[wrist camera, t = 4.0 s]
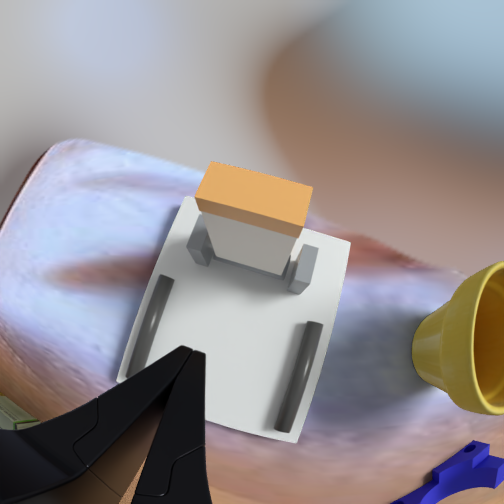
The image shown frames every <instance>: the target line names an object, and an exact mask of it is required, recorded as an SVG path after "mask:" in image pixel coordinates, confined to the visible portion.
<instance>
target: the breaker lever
mask: <svg viewBox="0 0 504 504" xmlns="http://www.w3.org/2000/svg"><path fill="white" fill-rule="evenodd" d="M312 190H313V187H310V186H306V185H303V184H300V183H296V182H292V181H289V180H285V179H282V178H278V177H274V176H271V175H267V174H262V173H259V172H255V171H251V170H247V169H242V168H239V167H235V166H230V165H226V164H221V163H217V162H212V161H211V163H210V165H209V167H208V169H207V171H206V173H205V175H204V177H203V179H202V181H201V184H200V186H199V188H198V190H197V192H196V194H195V200H196V203H197V206H198V209H199V211H201V213H202V216H203V219H204V222H205V225H206V228H207V231H208V234H209V237H210V240H211V243H212V246H213V249H214V253H213V259H214V260H216V261H220V262H223V263H226V264H229V265H233V266H236V267H239V268H243V269H246V270H249V271H253V272H256V273H259V274H263V275H266V276H270V277H273V278H276V279H280V280H283V281H284V279H285V276H286V273H287V270H288V266H289V263H290V259H291V255H290V254H291V252H292V249H293V247H294V245H295V242H296V240H297V238H298V239H299V236H300V234H301V232H302V229H303V227H304V223H305V219H306V215H307V211H308V207H309V202H310V198H311V194H312Z"/></svg>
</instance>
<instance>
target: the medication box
mask: <svg viewBox="0 0 504 504" xmlns="http://www.w3.org/2000/svg"><path fill="white" fill-rule="evenodd" d="M40 423H41V422H40V421H39V420H37V419H36V418H34V417H33V416H31V415H30V414H28V413H27V412H26V411H24V410H23V409H22V408H20V407H19V406H18V405H16V404H15V403H14V402H12V401H11V400H10V399H8V398H7V397H6V396H5V395H3V394H2V393H1V392H0V429H9V430H18V429H24V428H28V427H31V426H34V425H37V424H40Z"/></svg>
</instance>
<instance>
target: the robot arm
mask: <svg viewBox="0 0 504 504" xmlns="http://www.w3.org/2000/svg"><path fill="white" fill-rule="evenodd" d="M205 385H206V354H205V353H204V352H201V351H198V350H194V351H193V349H192V348H190V347H187V346H184V345H180V346H179V347H177V348H175V349H174V350H172V351H171V352H169V353H168V354H166V355H165V356H163V357H161V358H160V359H158V360H157V361H155V362H154V363H152V364H150V365H149V366H147V367H146V368H144V369H142V370H141V371H139V372H138V373H136V374H134V375H133V376H131V377H129V378H128V379H126V380H125V381H123V382H121V383H120V384H118V385H116V386H115V387H113V388H111V389H110V390H108V391H106V392H105V393H103V394H101V395H100V396H98V398H94V399H93V400H91V401H89V402H87V403H86V404H84V405H82V406H80V407H78V408H76V409H74V410H72V411H70V412H68V413H65V414H63V415H61V416H58V417H56V418H53V419H50V420H48V421H45V422H42V423H40V424H37V425H34V426H31V427H28V428H24V429H18V430H9V429H0V504H119V502H120V500H121V499H122V498H121V497H123V495H124V494H125V492H126V490H127V489H128V487H129V485H130V484H131V482H132V480H133V479H134V477H135V475H136V474H137V472H138V470H139V469H140V467H141V465H142V463H143V462H144V460H145V458H146V457H147V458H146V461H145V464H144V467H143V470H142V472H141V475H140V478H139V481H138V484H137V487H136V490H135V494H134V496H133V499H132V501H131V504H212V500H211V496H210V491H209V485H208V479H207V472H206V451H205Z"/></svg>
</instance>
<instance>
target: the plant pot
mask: <svg viewBox="0 0 504 504" xmlns="http://www.w3.org/2000/svg"><path fill="white" fill-rule="evenodd" d="M412 360H413V364H414V367H415V370H416V372H417V373H418V375H419V376H420V377H421V378H422V379H423V380H424V381H426V382H428V383H430V384H431V385H433V386H435V387H437V388H439V389H441V390H443V391H444V392H446V393H448V395H449V397H450V398H451V399H452V401H453V402H454V403H455V404H456V405H457V406H458V407H460V408H462V409H464V410H467V411H471V412H475V413H480V414H486V415H503V414H504V261H501V262H497V263H495V264H493V265H491V266H488V267H486V268H485V269H483V270H481V271H479V272H477V273H476V274H474V275H472V276H470V277H469V278H467V279H466V280H465V281H464V282H463V283H462V284H461V285H460V286H459V287H458V288H457V290H456V291H455V293H454V294H453V296H452V298H451V300H450V301H448V302H447V303H445V304H444V305H443V306H441V307H440V308H439V309H437V310H436V311H434V312H433V313H432V314H430V315H429V316H427V317H426V318H425V319H424V320H423V321H422V322H421V323H420V325H419V326H418V328H417V330H416V332H415V335H414V338H413V342H412Z"/></svg>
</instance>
